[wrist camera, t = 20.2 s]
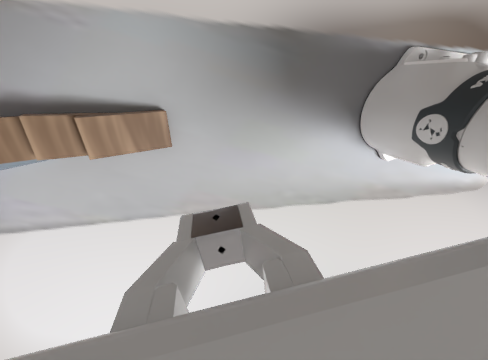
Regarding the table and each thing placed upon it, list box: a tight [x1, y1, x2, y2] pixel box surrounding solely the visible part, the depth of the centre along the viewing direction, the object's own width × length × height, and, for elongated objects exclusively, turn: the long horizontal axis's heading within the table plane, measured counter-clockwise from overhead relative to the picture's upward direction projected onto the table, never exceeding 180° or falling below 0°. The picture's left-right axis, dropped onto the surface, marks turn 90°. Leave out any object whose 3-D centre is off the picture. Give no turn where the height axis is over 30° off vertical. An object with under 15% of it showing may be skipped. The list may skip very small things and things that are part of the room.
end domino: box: [0, 159, 46, 170], centre depth 27 cm, size 2×5×10 cm
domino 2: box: [19, 113, 110, 161], centre depth 25 cm, size 2×5×10 cm
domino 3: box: [74, 110, 172, 160], centre depth 26 cm, size 2×5×10 cm
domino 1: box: [0, 116, 36, 164], centre depth 24 cm, size 2×5×10 cm
